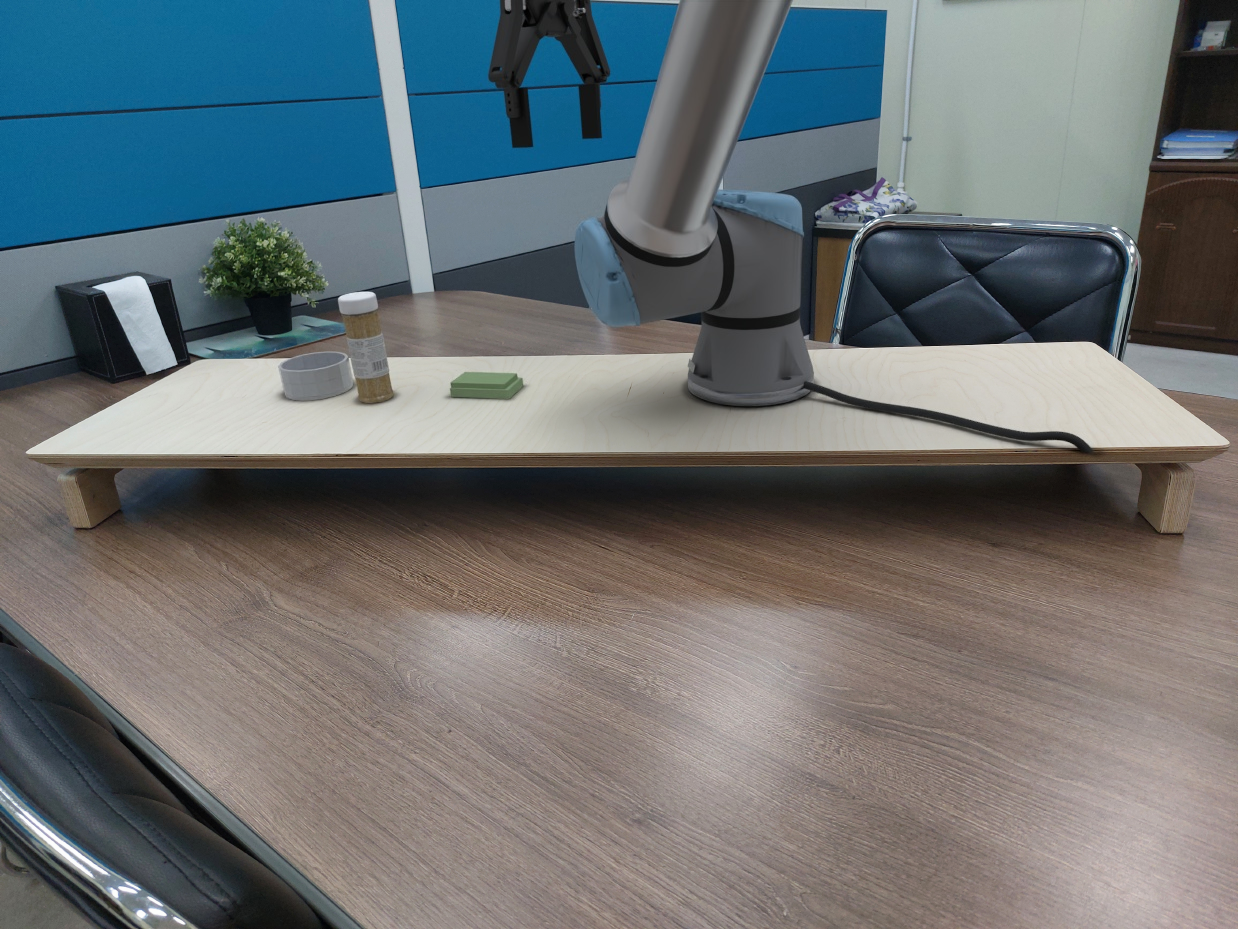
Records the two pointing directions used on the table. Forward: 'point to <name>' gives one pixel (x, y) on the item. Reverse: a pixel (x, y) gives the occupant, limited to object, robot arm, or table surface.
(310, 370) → the grey short cylinder
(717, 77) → the robot arm
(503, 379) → the green stepped block
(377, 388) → the spice jar
